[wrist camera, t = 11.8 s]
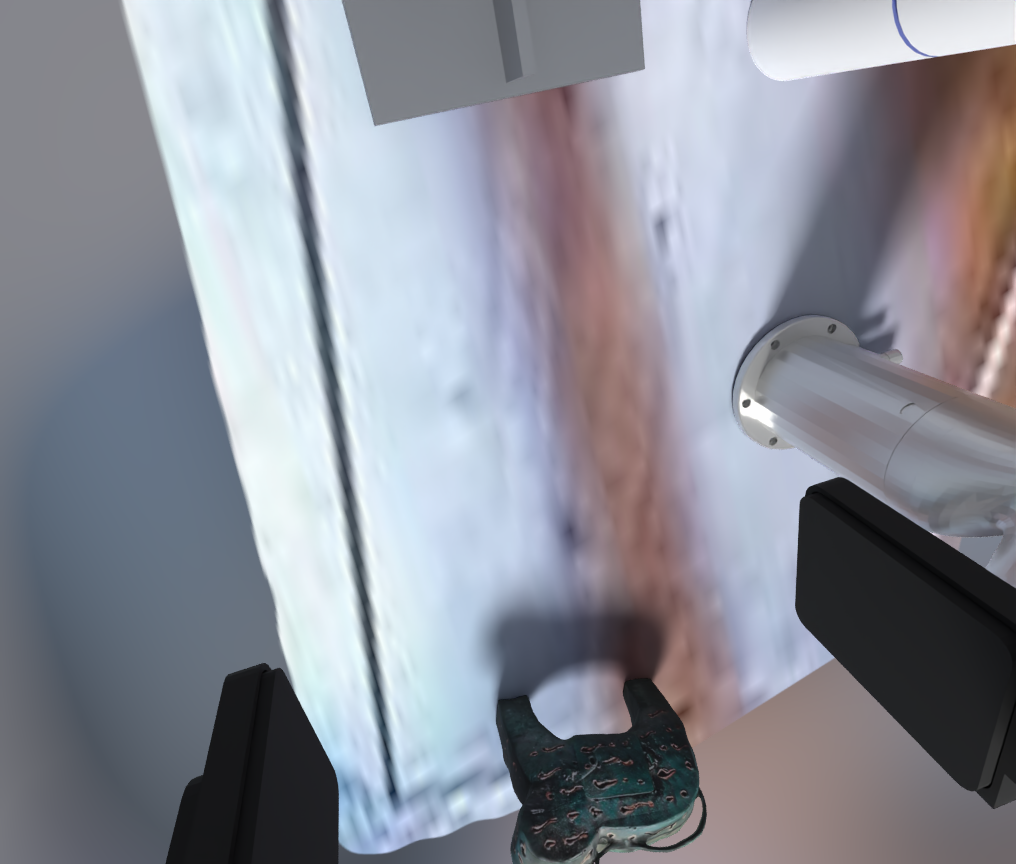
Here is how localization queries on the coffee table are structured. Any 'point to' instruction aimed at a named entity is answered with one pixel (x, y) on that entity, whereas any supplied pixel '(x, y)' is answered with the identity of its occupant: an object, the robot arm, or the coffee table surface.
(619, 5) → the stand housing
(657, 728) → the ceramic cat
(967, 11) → the cylindrical container
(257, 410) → the coffee table surface
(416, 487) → the coffee table surface
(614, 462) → the coffee table surface
